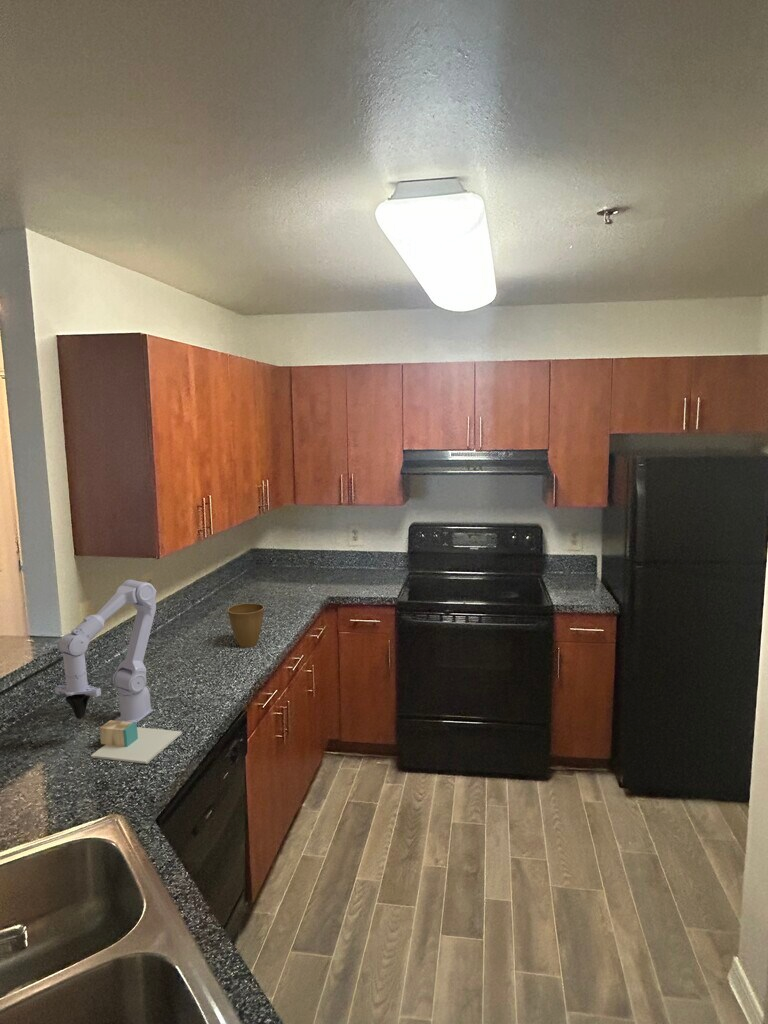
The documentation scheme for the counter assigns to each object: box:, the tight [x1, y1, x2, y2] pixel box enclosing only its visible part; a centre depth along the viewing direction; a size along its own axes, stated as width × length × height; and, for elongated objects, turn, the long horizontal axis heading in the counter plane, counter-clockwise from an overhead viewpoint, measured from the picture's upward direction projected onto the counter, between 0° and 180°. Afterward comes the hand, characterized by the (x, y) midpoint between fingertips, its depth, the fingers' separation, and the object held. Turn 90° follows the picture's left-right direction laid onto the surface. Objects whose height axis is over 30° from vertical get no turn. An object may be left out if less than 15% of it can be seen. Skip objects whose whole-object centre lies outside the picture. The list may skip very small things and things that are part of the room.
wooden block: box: [98, 719, 138, 747], centre depth 194 cm, size 5×5×9 cm
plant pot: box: [227, 602, 265, 648], centre depth 275 cm, size 15×15×16 cm
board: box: [90, 726, 183, 765], centre depth 192 cm, size 18×18×1 cm
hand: (80, 717), depth 196 cm, fingers closed
